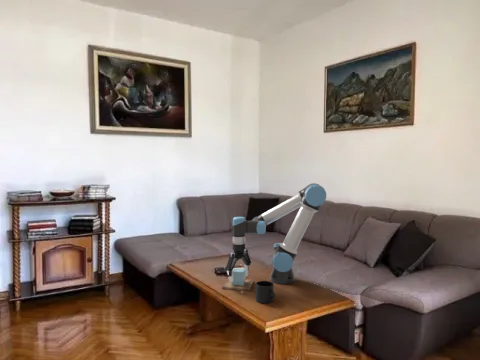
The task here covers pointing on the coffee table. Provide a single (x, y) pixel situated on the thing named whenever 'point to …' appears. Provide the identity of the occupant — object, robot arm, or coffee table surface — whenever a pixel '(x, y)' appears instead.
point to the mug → (264, 292)
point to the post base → (245, 287)
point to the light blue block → (238, 276)
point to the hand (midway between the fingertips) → (238, 278)
